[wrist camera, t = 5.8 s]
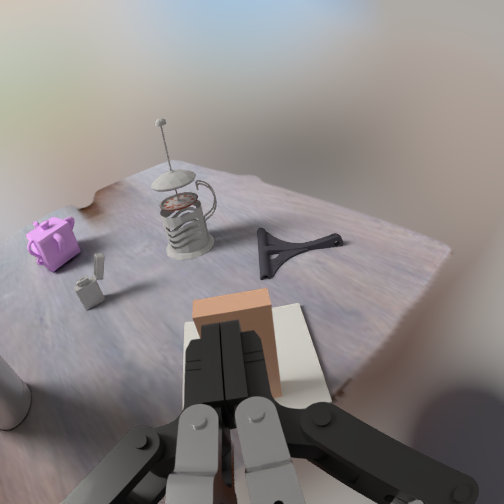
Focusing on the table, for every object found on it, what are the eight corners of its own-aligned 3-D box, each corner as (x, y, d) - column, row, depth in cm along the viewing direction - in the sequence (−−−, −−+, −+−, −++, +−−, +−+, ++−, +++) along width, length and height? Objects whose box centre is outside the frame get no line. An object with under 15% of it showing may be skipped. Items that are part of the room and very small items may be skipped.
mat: (184, 427, 29) (182, 425, 29) (186, 325, 43) (184, 322, 42) (331, 403, 30) (331, 401, 30) (298, 305, 43) (298, 302, 43)
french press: (166, 238, 64) (134, 122, 50) (220, 225, 66) (197, 107, 52) (166, 265, 56) (127, 131, 42) (227, 250, 57) (201, 112, 44)
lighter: (86, 310, 48) (66, 273, 43) (84, 305, 49) (64, 269, 44) (120, 291, 51) (103, 253, 47) (117, 287, 52) (100, 249, 48)
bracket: (352, 271, 49) (354, 257, 47) (261, 283, 50) (259, 269, 48) (332, 227, 61) (332, 215, 59) (257, 236, 62) (256, 223, 60)
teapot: (28, 264, 64) (12, 230, 59) (68, 236, 74) (54, 203, 68) (52, 285, 55) (32, 244, 50) (99, 249, 65) (84, 210, 59)
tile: (227, 405, 31) (192, 317, 23) (225, 389, 33) (193, 299, 25) (282, 396, 31) (271, 304, 23) (278, 380, 33) (266, 286, 25)
